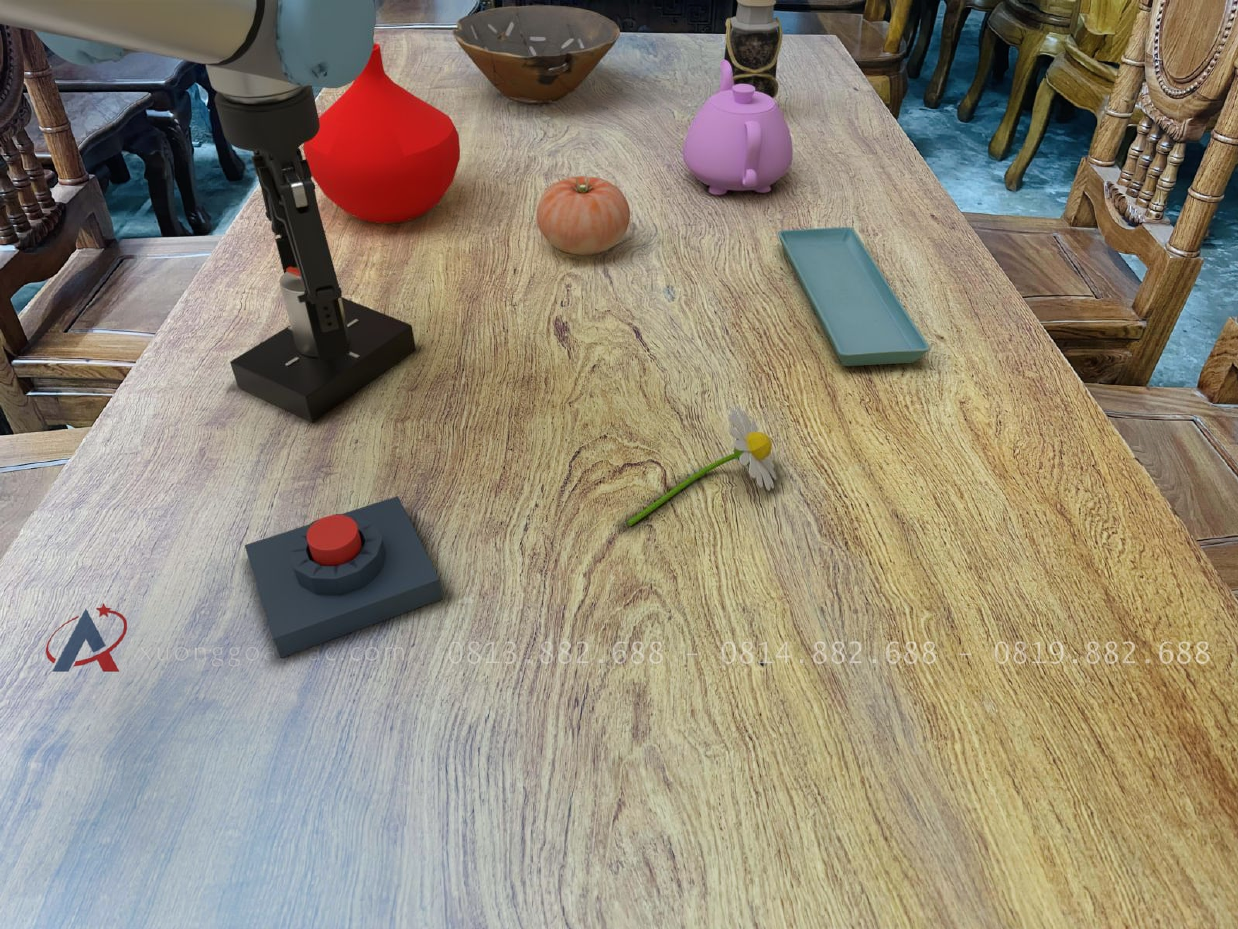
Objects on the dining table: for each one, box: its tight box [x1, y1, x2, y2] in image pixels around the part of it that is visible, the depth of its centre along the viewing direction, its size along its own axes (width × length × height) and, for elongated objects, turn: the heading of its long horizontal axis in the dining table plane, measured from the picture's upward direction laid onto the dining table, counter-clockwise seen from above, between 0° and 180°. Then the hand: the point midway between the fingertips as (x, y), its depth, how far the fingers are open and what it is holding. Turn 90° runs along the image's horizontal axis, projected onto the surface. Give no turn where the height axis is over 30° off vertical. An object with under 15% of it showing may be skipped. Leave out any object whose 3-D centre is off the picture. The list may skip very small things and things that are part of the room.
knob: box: [279, 267, 350, 357], centre depth 88 cm, size 5×5×7 cm
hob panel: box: [229, 296, 417, 424], centre depth 91 cm, size 14×10×3 cm
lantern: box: [723, 0, 783, 99], centre depth 133 cm, size 9×8×25 cm
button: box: [307, 514, 362, 566], centre depth 69 cm, size 4×4×2 cm
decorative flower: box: [626, 405, 777, 527], centre depth 78 cm, size 8×6×15 cm
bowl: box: [452, 4, 621, 105], centre depth 144 cm, size 25×25×10 cm
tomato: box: [536, 175, 631, 256], centre depth 109 cm, size 11×11×8 cm
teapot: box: [682, 59, 794, 196], centre depth 122 cm, size 20×14×12 cm
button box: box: [244, 495, 444, 659], centre depth 70 cm, size 12×10×4 cm
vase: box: [302, 42, 461, 224], centre depth 112 cm, size 18×18×19 cm
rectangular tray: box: [777, 226, 931, 367], centre depth 101 cm, size 26×9×2 cm, turn 6°
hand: (319, 325), depth 89 cm, fingers open, 10 cm apart
